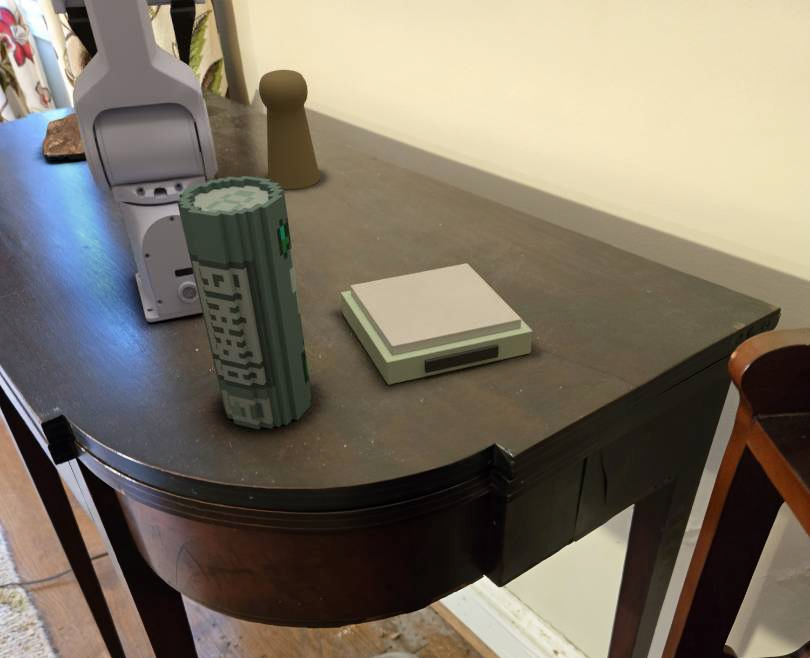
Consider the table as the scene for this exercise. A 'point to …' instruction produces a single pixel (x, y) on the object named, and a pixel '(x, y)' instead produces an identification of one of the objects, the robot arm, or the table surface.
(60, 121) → the brown stone slab
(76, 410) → the table surface
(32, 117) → the table surface
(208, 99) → the table surface
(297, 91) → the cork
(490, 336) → the scale
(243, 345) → the can
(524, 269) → the table surface
